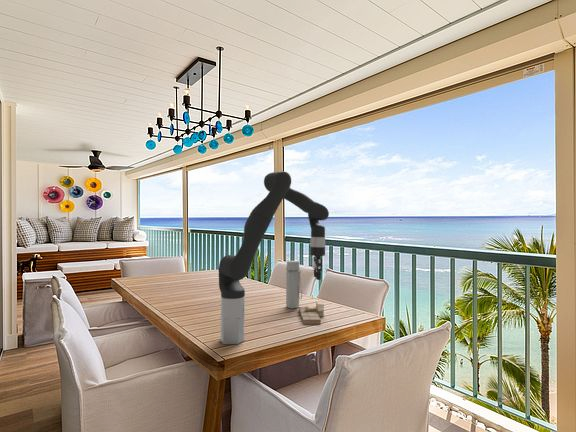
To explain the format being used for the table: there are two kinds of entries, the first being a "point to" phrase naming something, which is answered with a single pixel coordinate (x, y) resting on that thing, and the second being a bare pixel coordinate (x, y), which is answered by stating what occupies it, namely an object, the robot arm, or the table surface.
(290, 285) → the water bottle
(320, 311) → the gauge
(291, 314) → the table surface
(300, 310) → the plank
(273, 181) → the robot arm
